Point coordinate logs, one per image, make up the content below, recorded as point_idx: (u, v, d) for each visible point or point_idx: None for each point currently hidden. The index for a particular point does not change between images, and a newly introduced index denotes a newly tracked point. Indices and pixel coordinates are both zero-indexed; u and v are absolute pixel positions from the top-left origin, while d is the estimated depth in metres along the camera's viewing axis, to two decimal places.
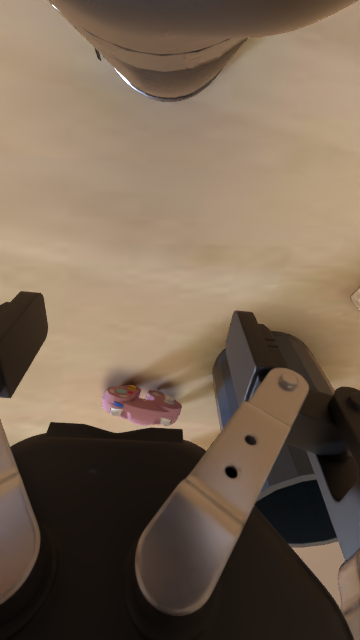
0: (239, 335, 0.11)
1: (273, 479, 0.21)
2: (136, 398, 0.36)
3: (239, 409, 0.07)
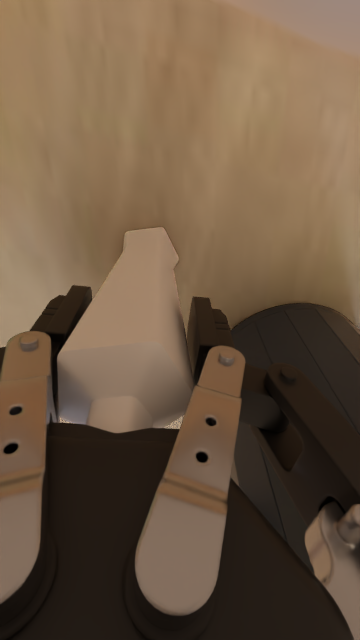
0: (194, 319, 0.12)
1: None
2: None
3: (193, 395, 0.07)
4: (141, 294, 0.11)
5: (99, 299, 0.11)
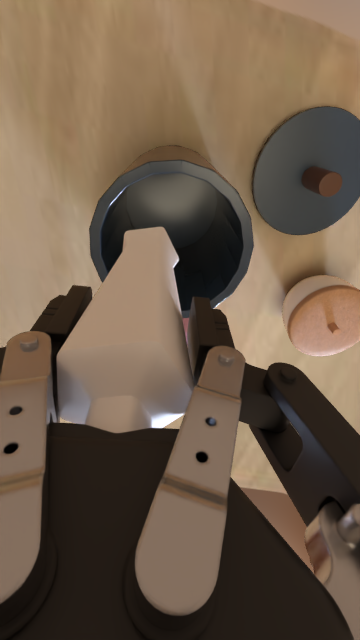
0: (193, 319, 0.12)
1: None
2: None
3: (193, 395, 0.07)
4: (140, 294, 0.11)
5: (99, 298, 0.11)
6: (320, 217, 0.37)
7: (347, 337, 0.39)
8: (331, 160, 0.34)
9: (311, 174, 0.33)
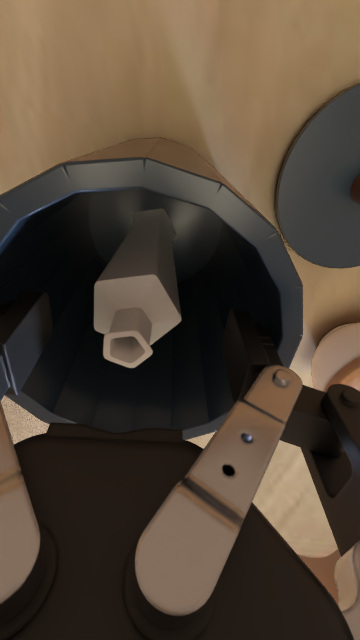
0: (234, 333, 0.12)
1: None
2: None
3: (234, 407, 0.07)
4: (145, 252, 0.16)
5: (117, 255, 0.16)
6: None
7: None
8: None
9: None
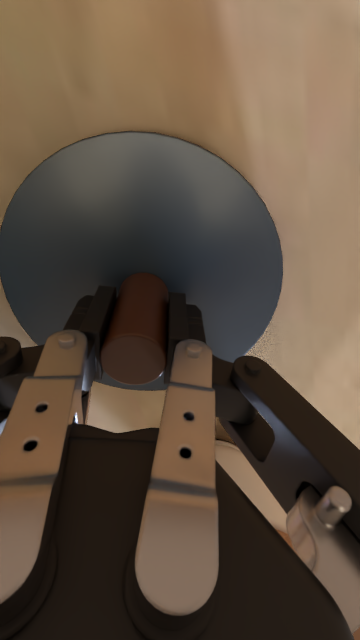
0: (168, 314, 0.12)
1: None
2: None
3: (167, 392, 0.07)
4: None
5: None
6: None
7: None
8: (181, 259, 0.14)
9: (115, 305, 0.12)
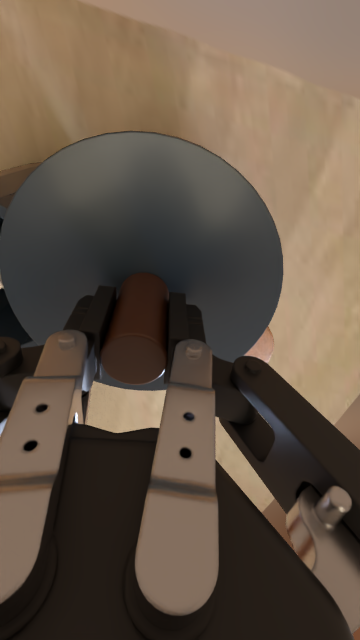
0: (168, 314, 0.12)
1: None
2: None
3: (167, 392, 0.07)
4: None
5: None
6: None
7: None
8: (182, 259, 0.14)
9: (115, 305, 0.12)
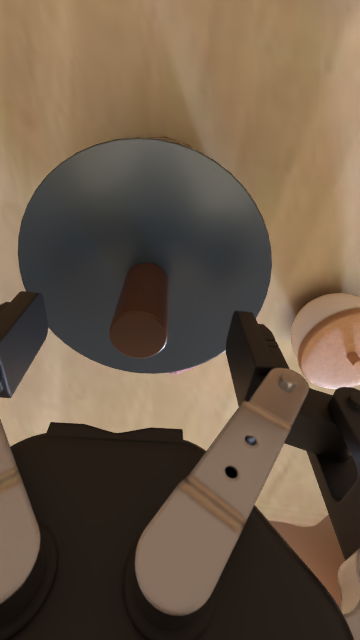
0: (239, 335, 0.11)
1: None
2: None
3: (239, 409, 0.07)
4: None
5: None
6: (187, 347, 0.19)
7: None
8: (181, 251, 0.15)
9: (122, 290, 0.14)
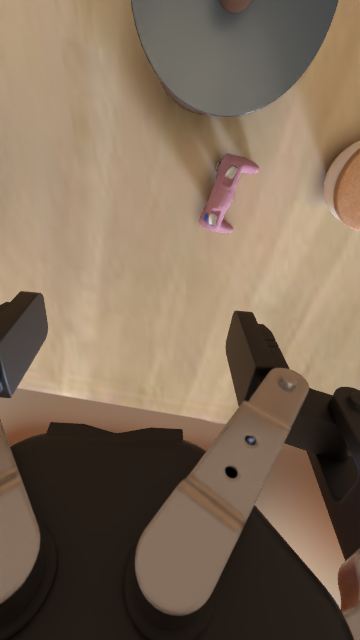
0: (239, 335, 0.11)
1: None
2: None
3: (239, 409, 0.07)
4: None
5: None
6: (261, 78, 0.21)
7: None
8: None
9: None
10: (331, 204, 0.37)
